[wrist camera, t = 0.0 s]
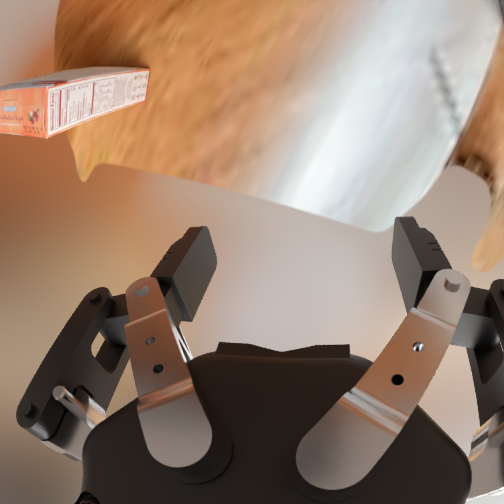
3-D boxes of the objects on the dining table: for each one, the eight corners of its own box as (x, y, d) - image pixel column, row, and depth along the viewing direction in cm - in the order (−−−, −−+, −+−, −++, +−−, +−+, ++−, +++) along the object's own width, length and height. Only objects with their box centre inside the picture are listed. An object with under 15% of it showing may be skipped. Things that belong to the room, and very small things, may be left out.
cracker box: (82, 98, 37) (-15, 133, 20) (85, 65, 34) (-16, 89, 17) (146, 104, 37) (44, 142, 20) (152, 67, 33) (45, 83, 17)
